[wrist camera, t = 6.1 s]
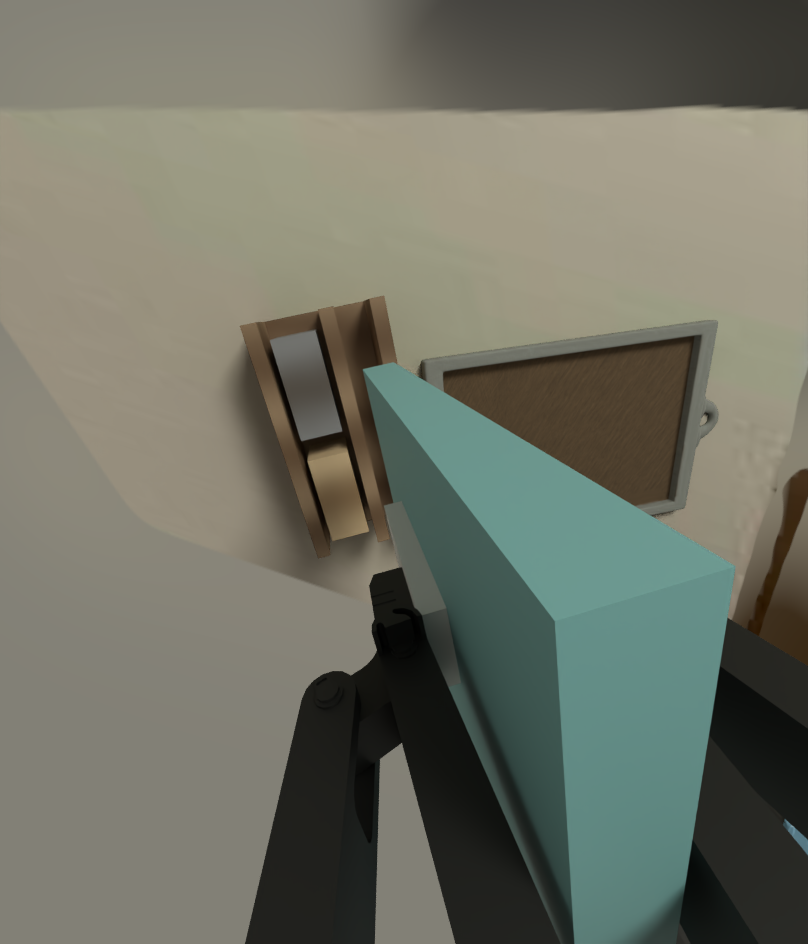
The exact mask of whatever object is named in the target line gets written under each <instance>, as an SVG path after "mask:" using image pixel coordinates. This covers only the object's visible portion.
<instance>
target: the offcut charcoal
mask: <svg viewBox="0 0 808 944" xmlns="http://www.w3.org/2000/svg"><path fill="white" fill-rule="evenodd" d="M270 343H271V346H272V349H273V353H274V356H275V359H276V362H277V365H278V369H279V372H280V375H281V378H282V381H283V385H284V388H285V391H286V394H287V397H288V401H289V404H290V407H291V410H292V413H293V416H294V420H295V423H296V426H297V429H298V432H299V436H300V439H301V441H304V440H308V439H312V438H317V437H321V436H325V435H329V434H333V433H337V432H341V431H342V426H341V420H340V415H339V412H338V408H337V404H336V400H335V397H334V393H333V389H332V385H331V382H330V378H329V374H328V370H327V367H326V363H325V359H324V355H323V351H322V348H321V344H320V340H319V336H318V333H317V329H315V330H310V331H305V332H301V333H296V334H291V335H287V336H282V337H277V338H274V339H272V340H270Z"/></svg>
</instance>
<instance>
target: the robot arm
mask: <svg viewBox="0 0 808 944" xmlns="http://www.w3.org/2000/svg"><path fill="white" fill-rule="evenodd" d="M384 508H385V512H386V516H387V521H388V525H389V529H390V533H391V537H392V541H393V545H394V549H395V554H396V558H397V562H398V565H399V568H396V569H393V570H389V571H386V572H382V573H378V574H375V575H373V578H372V580H371V583H370V585H369V587H370V593H371V598H372V605H373V611H374V618H375V620H374V622H373V624H372V635H373V638H374V641H375V645H376V648H377V652H376V654H375V656H374V657H373V659H372V660H371V661H370V662H369V663H368V664H367V665H366V666H365V667H363V668H362V669H361V670H359V671H357V672H356V673H354V674H353V675H351V676H350V675H349V674H347V673H344V672H343V671H332V672H329V673H326V674H323V675H321V676H320V677H318V678H317V679H316V680H314V681H313V682H312V683H311V684H310V686H309V687H308V688H307V689H306V691H305V693H304V696H303V698H302V701H301V706H300V710H299V714H298V718H297V722H296V727H295V731H294V736H293V740H292V744H291V748H290V753H289V757H288V761H287V766H286V770H285V774H284V779H283V783H282V787H281V792H280V796H279V800H278V805H277V809H276V813H275V817H274V821H273V826H272V830H271V834H270V839H269V843H268V847H267V852H266V856H265V860H264V865H263V869H262V874H261V877H260V882H259V886H258V890H257V895H256V899H255V903H254V908H253V912H252V917H251V921H250V925H249V929H248V933H247V938H246V942H245V944H375V913H376V911H375V910H376V909H375V908H376V877H377V843H378V842H377V841H378V840H377V839H378V806H379V772H380V771H379V769H380V758H382V757H383V756H384V755H386V754H387V753H388V752H390V751H391V750H393V749H394V748H395V747H397V746H398V745H399V744H401V743H402V744H403V748H404V752H405V756H406V760H407V763H408V767H409V771H410V775H411V778H412V782H413V785H414V790H415V793H416V797H417V801H418V805H419V808H420V812H421V816H422V819H423V823H424V827H425V831H426V835H427V838H428V842H429V846H430V850H431V853H432V857H433V861H434V865H435V868H436V872H437V876H438V880H439V883H440V887H441V891H442V895H443V898H444V902H445V906H446V910H447V913H448V917H449V921H450V924H451V928H452V932H453V935H454V940H455V943H456V944H561V943H560V941H559V938H558V936H557V934H556V931H555V929H554V927H553V925H552V922H551V920H550V918H549V916H548V913H547V911H546V909H545V906H544V904H543V902H542V900H541V897H540V895H539V893H538V890H537V888H536V886H535V884H534V881H533V879H532V877H531V874H530V872H529V870H528V868H527V865H526V863H525V861H524V858H523V856H522V854H521V852H520V849H519V847H518V845H517V842H516V840H515V838H514V836H513V833H512V831H511V829H510V826H509V824H508V822H507V820H506V817H505V815H504V813H503V810H502V808H501V806H500V804H499V801H498V799H497V797H496V795H495V792H494V790H493V788H492V785H491V783H490V781H489V779H488V776H487V774H486V772H485V769H484V767H483V765H482V763H481V760H480V758H479V756H478V753H477V751H476V749H475V747H474V744H473V742H472V740H471V737H470V735H469V733H468V731H467V728H466V726H465V724H464V721H463V719H462V717H461V715H460V712H459V710H458V708H457V705H456V703H455V701H454V699H453V696H452V694H451V692H450V690H449V687H450V686H453V685H456V684H459V683H461V680H460V675H459V670H458V665H457V660H456V654H455V649H454V644H453V639H452V634H451V629H450V624H449V619H448V613H447V608H446V606H445V603H444V601H443V599H442V596H441V594H440V592H439V589H438V587H437V584H436V582H435V580H434V577H433V575H432V572H431V570H430V568H429V565H428V563H427V561H426V558H425V556H424V553H423V551H422V549H421V546H420V544H419V541H418V539H417V537H416V534H415V532H414V530H413V527H412V525H411V522H410V520H409V518H408V515H407V513H406V510H405V508H404V506H403V503H402V501H400V502H396V503H392V504H388V505H384ZM676 944H808V666H807V665H805V664H804V663H802V662H800V661H798V660H797V659H795V658H794V657H792V656H790V655H789V654H787V653H785V652H783V651H782V650H780V649H779V648H777V647H775V646H774V645H772V644H770V643H768V642H767V641H765V640H764V639H762V638H760V637H759V636H757V635H755V634H754V633H752V632H750V631H748V630H747V629H745V628H743V627H742V626H740V625H738V624H737V623H735V622H733V621H732V620H730V619H728V618H727V623H726V630H725V636H724V642H723V649H722V655H721V661H720V668H719V674H718V680H717V687H716V693H715V699H714V706H713V712H712V718H711V725H710V731H709V737H708V744H707V750H706V756H705V763H704V769H703V775H702V782H701V788H700V794H699V801H698V807H697V813H696V820H695V826H694V833H693V839H692V845H691V852H690V858H689V864H688V871H687V877H686V883H685V890H684V896H683V902H682V909H681V915H680V921H679V928H678V934H677V940H676Z"/></svg>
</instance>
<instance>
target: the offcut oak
mask: <svg viewBox="0 0 808 944" xmlns="http://www.w3.org/2000/svg"><path fill="white" fill-rule="evenodd" d="M308 464H309V468H310V471H311V474H312V477H313V480H314V484H315V487H316V490H317V493H318V496H319V499H320V503H321V506H322V509H323V512H324V515H325V519H326V522H327V525H328V528H329V531H330V535H331V538H332V541H336V540H339V539H343V538H347V537H351V536H354V535H358V534H362V533H365V532H369V529H368V524H367V519H366V514H365V510H364V506H363V502H362V498H361V495H360V491H359V487H358V483H357V480H356V476H355V472H354V468H353V464H352V461H351V457H350V453H349V449H348V446H347V442H346V438H345V437H342V438H338V439H334V440H330V441H326V442H322V443H318V444H314V445H310V446H309V454H308Z"/></svg>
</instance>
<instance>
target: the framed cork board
mask: <svg viewBox="0 0 808 944" xmlns="http://www.w3.org/2000/svg"><path fill="white" fill-rule="evenodd" d="M717 327H718V321H716V320H706V321H698V322H691V323H683V324H676V325H669V326H662V327H654V328H647V329H640V330H633V331H625V332H618V333H611V334H604V335H596V336H589V337H582V338H575V339H568V340H560V341H553V342H546V343H539V344H531V345H524V346H517V347H510V348H502V349H495V350H488V351H481V352H473V353H466V354H459V355H452V356H445V357H437V358H430V359H425V360H422V361H421V368H422V379H423V380H424V381H426V382H428V383H429V384H431V385H433V386H434V387H436V388H438V389H439V390H441V391H443V392H444V393H446V394H448V395H449V396H451V397H453V398H454V399H456V400H458V401H459V402H461V403H463V404H464V405H466V406H468V407H469V408H471V409H473V410H474V411H476V412H478V413H479V414H481V415H483V416H484V417H486V418H488V419H490V420H491V421H493V422H495V423H496V424H498V425H500V426H501V427H503V428H505V429H506V430H508V431H510V432H511V433H513V434H515V435H516V436H518V437H520V438H521V439H523V440H525V441H526V442H528V443H530V444H531V445H533V446H535V447H536V448H538V449H540V450H541V451H543V452H545V453H546V454H548V455H550V456H551V457H553V458H555V459H557V460H558V461H560V462H562V463H563V464H565V465H567V466H568V467H570V468H572V469H573V470H575V471H577V472H578V473H580V474H582V475H583V476H585V477H587V478H588V479H590V480H592V481H593V482H595V483H597V484H598V485H600V486H602V487H603V488H605V489H607V490H608V491H610V492H612V493H613V494H615V495H617V496H618V497H620V498H622V499H624V500H625V501H627V502H629V503H630V504H632V505H634V506H635V507H637V508H639V509H640V510H642V511H644V512H645V513H647V514H649V515H655V514H660V513H665V512H670V511H674V510H679V509H683V508H685V505H686V499H687V494H688V488H689V483H690V477H691V472H692V466H693V460H694V455H695V449H696V447H697V446H698V444H699V441H700V439H701V438H703V437H704V436H705V435H707V434H708V433H709V432H710V431H711V430H712V429H713V428H714V426H715V425H716V423H717V421H718V415H719V414H718V409H717V407H716V406H715V404H714V403H713V402H711V401H710V400H707V399H706V396H705V394H706V388H707V383H708V377H709V371H710V366H711V360H712V355H713V349H714V344H715V338H716V332H717ZM704 413H708V420H707V422H706V423H705V424H704V425H702V426H700V421H701V418H702V417H703V415H704Z"/></svg>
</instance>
